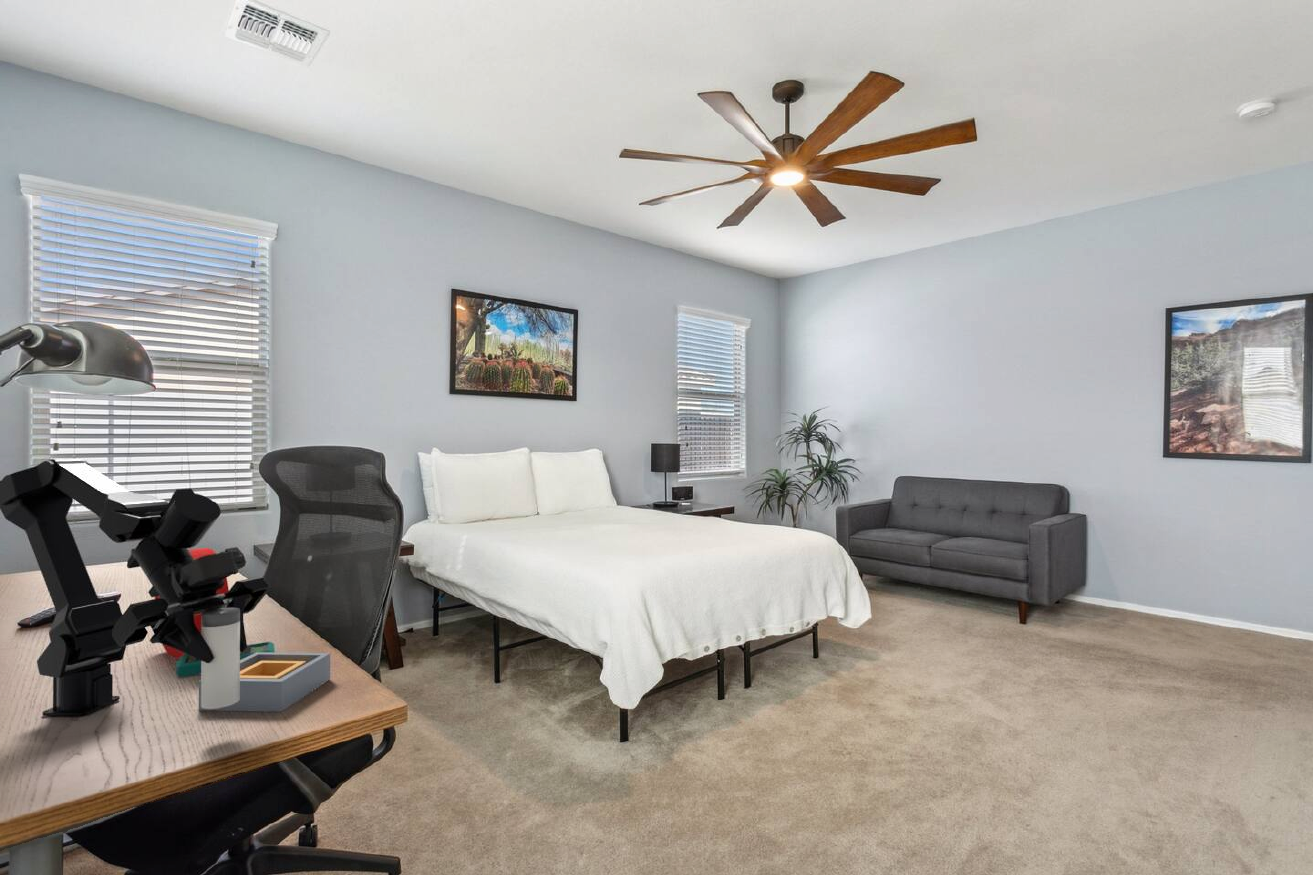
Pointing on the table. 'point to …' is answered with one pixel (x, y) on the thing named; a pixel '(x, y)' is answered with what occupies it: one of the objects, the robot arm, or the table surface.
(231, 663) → the grey capped shaker bottle
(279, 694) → the box
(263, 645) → the digital multimeter
